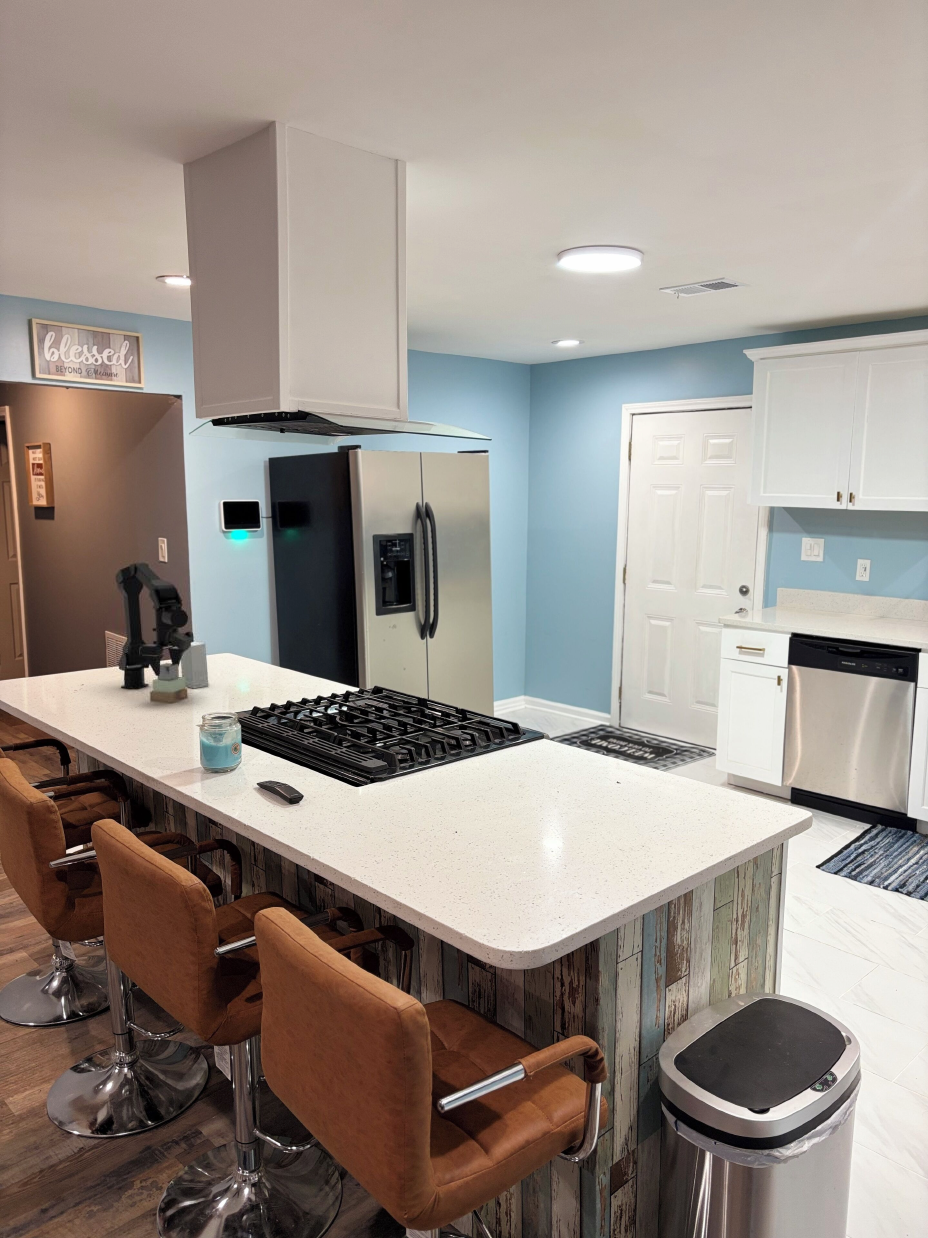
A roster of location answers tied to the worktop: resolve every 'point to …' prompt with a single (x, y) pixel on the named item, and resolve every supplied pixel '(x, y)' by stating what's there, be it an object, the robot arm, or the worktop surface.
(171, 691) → the top block
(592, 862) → the worktop surface
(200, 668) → the skincare box
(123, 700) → the worktop surface
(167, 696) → the base block
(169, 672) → the cube
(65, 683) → the worktop surface
